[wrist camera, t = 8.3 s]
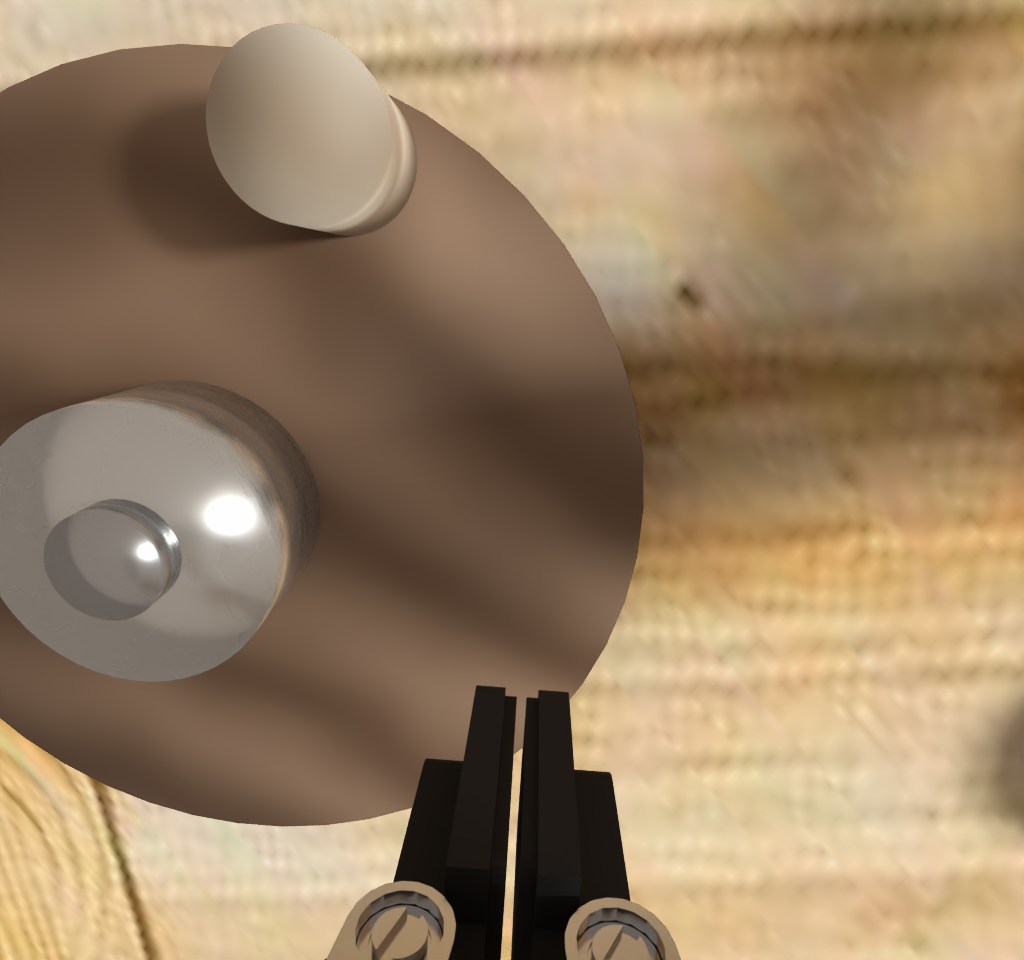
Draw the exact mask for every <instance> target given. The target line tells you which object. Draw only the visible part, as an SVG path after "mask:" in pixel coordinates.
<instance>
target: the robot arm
mask: <svg viewBox="0 0 1024 960" xmlns="http://www.w3.org/2000/svg"><path fill="white" fill-rule="evenodd" d="M505 695H506V687H493V686H480V685H477V686H476V689H475V695H474V701H473V707H472V713H471V719H470V725H469V731H468V737H467V743H466V748H465V754H464V760H463V761H455V760H442V759H429V758H426V759H425V761H424V764H423V768H422V772H421V776H420V779H419V783H418V787H417V791H416V795H415V799H414V803H413V807H412V811H411V815H410V819H409V823H408V827H407V831H406V835H405V839H404V842H403V846H402V850H401V854H400V858H399V862H398V866H397V870H396V874H395V878H394V882H393V883H388V884H385V885H382V886H380V887H378V888H376V889H374V890H372V891H370V892H369V893H368V894H366V895H365V896H364V897H363V898H362V899H360V900H359V901H358V902H357V903H356V905H355V906H354V908H353V909H352V910H351V912H350V913H349V915H348V916H347V918H346V920H345V923H344V925H343V927H342V929H341V931H340V933H339V935H338V937H337V939H336V941H335V943H334V945H333V947H332V949H331V951H330V953H329V955H328V957H327V959H325V960H500V958H501V943H502V928H503V913H504V898H505V883H506V867H507V852H508V835H509V819H510V803H511V786H512V770H513V754H514V737H515V721H516V705H517V697H516V696H505ZM511 960H681V958H680V956H679V953H678V950H677V947H676V945H675V942H674V941H673V939H672V937H671V935H670V933H669V931H668V929H667V928H666V926H665V925H664V924H663V923H662V922H661V921H660V920H659V919H658V918H657V917H656V916H655V915H654V914H653V913H651V912H650V911H648V910H647V909H645V908H644V907H642V906H641V905H639V904H636V903H633V902H631V901H630V895H629V888H628V881H627V875H626V868H625V861H624V855H623V848H622V841H621V834H620V828H619V821H618V814H617V807H616V801H615V794H614V787H613V781H612V776H611V774H610V772H598V771H585V770H574V760H573V746H572V731H571V717H570V703H569V693H568V692H561V691H548V690H539V691H538V698H530V697H527V698H526V711H525V725H524V739H523V754H522V768H521V782H520V796H519V810H518V825H517V843H516V864H515V886H514V908H513V930H512V952H511Z"/></svg>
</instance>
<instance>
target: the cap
mask: <svg viewBox="0 0 1024 960" xmlns="http://www.w3.org/2000/svg"><path fill="white" fill-rule="evenodd" d="M319 526H320V502H319V496H318V490H317V486H316V483H315V479H314V476H313V473H312V471H311V468H310V466H309V464H308V461H307V459H306V458H305V456H304V454H303V452H302V451H301V449H300V447H299V446H298V444H297V443H296V442H295V440H294V439H293V438H292V436H291V435H290V434H289V432H288V431H287V430H286V429H285V428H284V427H283V426H282V425H281V424H280V423H279V422H278V421H277V420H276V419H275V418H274V417H273V416H271V415H270V414H269V413H268V412H267V411H265V410H264V409H263V408H261V407H260V406H258V405H257V404H255V403H254V402H252V401H251V400H249V399H247V398H245V397H243V396H241V395H239V394H237V393H235V392H233V391H231V390H228V389H225V388H222V387H219V386H216V385H212V384H207V383H203V382H197V381H185V380H175V381H162V382H157V383H152V384H147V385H144V386H140V387H137V388H133V389H129V390H126V391H122V392H119V393H115V394H111V395H108V396H104V397H101V398H97V399H94V400H90V401H86V402H83V403H79V404H76V405H72V406H69V407H65V408H61V409H58V410H55V411H53V412H50V413H47V414H44V415H42V416H40V417H38V418H36V419H34V420H32V421H30V422H28V423H27V424H25V425H24V426H22V427H21V428H20V429H18V430H17V431H16V432H15V433H13V434H12V435H11V436H10V437H9V438H8V439H7V440H6V441H5V442H4V443H3V444H2V445H1V446H0V596H1V598H2V600H3V601H4V602H5V604H6V605H7V606H8V608H9V609H10V610H11V612H12V613H13V614H14V616H15V617H16V618H17V619H18V620H19V621H20V622H21V623H22V624H23V625H24V626H25V627H26V628H27V629H28V630H29V631H30V632H31V633H32V634H33V635H35V636H36V637H37V638H38V639H39V640H40V641H42V642H43V643H44V644H46V645H47V646H48V647H50V648H51V649H53V650H54V651H56V652H57V653H58V654H60V655H62V656H64V657H66V658H67V659H69V660H71V661H73V662H75V663H76V664H79V665H81V666H84V667H86V668H88V669H91V670H93V671H96V672H99V673H102V674H105V675H109V676H112V677H117V678H122V679H127V680H135V681H147V682H152V681H170V680H176V679H183V678H187V677H190V676H194V675H197V674H201V673H203V672H205V671H207V670H210V669H212V668H214V667H216V666H218V665H220V664H221V663H223V662H224V661H226V660H228V659H229V658H231V657H232V656H233V655H234V654H235V653H236V652H238V651H239V650H240V649H241V648H242V647H243V646H244V645H245V644H246V643H247V642H248V641H249V639H250V638H251V637H252V636H253V635H254V633H255V632H256V631H257V630H258V628H259V627H260V626H261V624H262V623H263V622H264V621H265V619H266V618H267V617H268V616H269V614H270V613H271V612H272V610H273V609H274V608H275V607H276V605H277V604H278V603H279V601H280V600H281V599H282V598H283V596H284V595H285V594H286V593H287V591H288V590H289V589H290V587H291V586H292V585H293V584H294V582H295V581H296V580H297V578H298V577H299V576H300V575H301V573H302V572H303V570H304V569H305V567H306V565H307V564H308V562H309V560H310V558H311V556H312V553H313V551H314V549H315V545H316V542H317V538H318V534H319Z"/></svg>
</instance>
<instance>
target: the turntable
mask: <svg viewBox="0 0 1024 960" xmlns="http://www.w3.org/2000/svg"><path fill="white" fill-rule="evenodd" d="M175 380H185V381H197V382H203V383H207V384H212V385H216V386H219V387H222V388H225V389H228V390H231V391H233V392H235V393H237V394H239V395H241V396H243V397H245V398H247V399H249V400H251V401H252V402H254V403H255V404H257V405H258V406H260V407H261V408H263V409H264V410H265V411H267V412H268V413H269V414H270V415H271V416H273V417H274V418H275V419H276V420H277V421H278V422H279V423H280V424H281V425H282V426H283V427H284V428H285V429H286V430H287V431H288V432H289V434H290V435H291V436H292V438H293V439H294V440H295V442H296V443H297V444H298V446H299V447H300V449H301V451H302V452H303V454H304V456H305V458H306V459H307V461H308V464H309V466H310V468H311V471H312V473H313V476H314V479H315V483H316V486H317V490H318V496H319V502H320V526H319V534H318V538H317V542H316V545H315V549H314V551H313V553H312V556H311V558H310V560H309V562H308V564H307V565H306V567H305V569H304V570H303V572H302V573H301V575H300V576H299V577H298V578H297V580H296V581H295V582H294V584H293V585H292V586H291V587H290V589H289V590H288V591H287V593H286V594H285V595H284V596H283V598H282V599H281V600H280V601H279V603H278V604H277V605H276V607H275V608H274V609H273V610H272V612H271V613H270V614H269V616H268V617H267V618H266V619H265V621H264V622H263V623H262V624H261V626H260V627H259V628H258V630H257V631H256V632H255V633H254V635H253V636H252V637H251V638H250V639H249V641H248V642H247V643H246V644H245V645H244V646H243V647H242V648H241V649H240V650H239V651H238V652H236V653H235V654H234V655H233V656H232V657H231V658H229V659H228V660H226V661H224V662H223V663H221V664H220V665H218V666H216V667H214V668H212V669H210V670H207V671H205V672H203V673H201V674H197V675H194V676H190V677H187V678H183V679H176V680H170V681H152V682H147V681H135V680H127V679H122V678H117V677H112V676H109V675H105V674H102V673H99V672H96V671H93V670H91V669H88V668H86V667H84V666H81V665H79V664H76V663H75V662H73V661H71V660H69V659H67V658H66V657H64V656H62V655H60V654H58V653H57V652H56V651H54V650H53V649H51V648H50V647H48V646H47V645H46V644H44V643H43V642H42V641H40V640H39V639H38V638H37V637H36V636H35V635H33V634H32V633H31V632H30V631H29V630H28V629H27V628H26V627H25V626H24V625H23V624H22V623H21V622H20V621H19V620H18V619H17V618H16V617H15V616H14V614H13V613H12V612H11V610H10V609H9V608H8V606H7V605H6V604H5V602H4V601H3V600H2V598H1V596H0V718H1V719H2V720H3V721H5V722H6V723H7V724H8V725H10V726H11V727H12V728H13V729H15V730H16V731H17V732H18V733H20V734H21V735H22V736H23V737H25V738H26V739H28V740H29V741H31V742H32V743H34V744H35V745H37V746H38V747H40V748H42V749H43V750H45V751H46V752H48V753H49V754H51V755H52V756H54V757H55V758H57V759H58V760H60V761H62V762H63V763H65V764H67V765H68V766H70V767H72V768H74V769H76V770H78V771H80V772H82V773H84V774H86V775H88V776H90V777H92V778H94V779H95V780H97V781H99V782H101V783H103V784H105V785H107V786H110V787H112V788H115V789H117V790H120V791H122V792H125V793H127V794H130V795H132V796H135V797H137V798H140V799H142V800H145V801H147V802H150V803H154V804H157V805H160V806H164V807H167V808H171V809H174V810H178V811H181V812H185V813H188V814H192V815H196V816H202V817H207V818H213V819H218V820H224V821H230V822H235V823H245V824H258V825H271V826H309V825H329V824H336V823H344V822H351V821H358V820H365V819H370V818H374V817H378V816H382V815H386V814H390V813H394V812H398V811H401V810H405V809H409V808H412V807H413V803H414V799H415V795H416V791H417V787H418V783H419V779H420V776H421V772H422V768H423V764H424V761H425V759H426V758H429V759H442V760H455V761H463V760H464V754H465V748H466V743H467V737H468V731H469V725H470V719H471V713H472V707H473V701H474V695H475V689H476V686H477V685H480V686H493V687H506V695H505V696H516V697H517V705H516V721H515V737H514V753H516V752H517V751H519V750H520V749H521V748H523V739H524V725H525V711H526V698H527V697H530V698H538V691H539V690H548V691H561V692H568V693H569V700H570V698H571V697H572V696H573V695H574V694H575V692H576V691H577V690H578V689H579V687H580V686H581V685H582V684H583V682H584V680H585V679H586V677H587V676H588V674H589V672H590V671H591V669H592V667H593V666H594V664H595V662H596V661H597V659H598V658H599V656H600V654H601V653H602V651H603V649H604V648H605V646H606V644H607V642H608V639H609V637H610V635H611V632H612V630H613V628H614V626H615V623H616V621H617V619H618V616H619V614H620V612H621V609H622V607H623V605H624V602H625V599H626V595H627V591H628V588H629V584H630V580H631V577H632V573H633V569H634V566H635V562H636V559H637V553H638V545H639V537H640V530H641V522H642V514H643V454H642V448H641V441H640V434H639V428H638V421H637V414H636V407H635V402H634V398H633V395H632V392H631V388H630V385H629V381H628V378H627V374H626V371H625V368H624V364H623V361H622V357H621V354H620V350H619V348H618V346H617V343H616V341H615V339H614V337H613V334H612V332H611V330H610V327H609V325H608V323H607V321H606V318H605V316H604V314H603V312H602V309H601V307H600V305H599V303H598V300H597V298H596V296H595V294H594V293H593V291H592V289H591V288H590V286H589V285H588V283H587V281H586V280H585V278H584V276H583V275H582V273H581V271H580V270H579V268H578V267H577V265H576V263H575V262H574V260H573V258H572V257H571V255H570V254H569V252H568V250H567V249H566V247H565V245H564V244H563V243H562V242H561V240H560V239H559V238H558V237H557V235H556V234H555V233H554V232H553V230H552V229H551V228H550V227H549V225H548V224H547V223H546V222H545V221H544V219H543V218H542V217H541V216H540V214H539V213H538V212H537V211H536V209H535V208H534V207H533V206H532V205H531V203H530V202H529V201H528V200H527V198H526V197H525V196H524V195H523V194H522V193H521V192H520V191H519V190H518V189H517V188H516V187H514V186H513V185H512V184H511V183H510V182H509V181H508V180H507V179H506V178H505V177H504V176H503V175H502V174H501V173H500V172H499V171H498V170H496V169H495V168H494V167H493V166H492V165H491V164H490V163H489V162H488V161H487V160H486V159H485V158H484V157H483V156H482V155H481V154H480V153H478V152H477V151H476V150H474V149H473V148H472V147H470V146H469V145H467V144H466V143H465V142H463V141H462V140H460V139H459V138H458V137H456V136H455V135H454V134H452V133H451V132H449V131H448V130H447V129H445V128H444V127H442V126H441V125H440V124H438V123H437V122H436V121H434V120H433V119H431V118H430V117H429V116H427V115H426V114H424V113H422V112H420V111H418V110H416V109H414V108H413V107H411V106H409V105H407V104H405V103H403V102H401V101H399V100H398V99H396V98H394V97H392V96H390V95H388V94H387V93H386V92H385V91H384V89H383V88H382V87H381V86H380V84H379V83H378V82H377V81H376V79H375V78H374V77H373V76H372V74H371V73H370V72H369V71H368V69H367V68H366V67H365V66H364V64H363V63H362V62H361V61H360V59H359V58H358V57H357V56H356V55H355V54H354V53H353V52H352V51H351V50H350V49H349V48H348V47H347V46H346V45H345V44H343V43H342V42H340V41H339V40H338V39H336V38H335V37H333V36H331V35H329V34H327V33H326V32H324V31H321V30H318V29H316V28H313V27H309V26H305V25H300V24H276V25H271V26H267V27H263V28H261V29H259V30H256V31H254V32H252V33H250V34H248V35H247V36H245V37H244V38H242V39H241V40H240V41H239V42H237V43H236V44H235V45H234V46H233V47H220V46H204V45H188V44H176V45H165V46H154V47H143V48H132V49H121V50H116V51H112V52H108V53H104V54H100V55H96V56H92V57H89V58H85V59H81V60H77V61H73V62H69V63H65V64H61V65H59V66H56V67H54V68H52V69H50V70H47V71H45V72H43V73H40V74H38V75H36V76H34V77H31V78H29V79H27V80H24V81H22V82H20V83H18V84H15V85H13V86H11V87H9V88H7V89H5V90H4V91H2V92H1V93H0V446H1V445H2V444H3V443H4V442H5V441H6V440H7V439H8V438H9V437H10V436H11V435H12V434H13V433H15V432H16V431H17V430H18V429H20V428H21V427H22V426H24V425H25V424H27V423H28V422H30V421H32V420H34V419H36V418H38V417H40V416H42V415H44V414H47V413H50V412H53V411H55V410H58V409H61V408H65V407H69V406H72V405H76V404H79V403H83V402H86V401H90V400H94V399H97V398H101V397H104V396H108V395H111V394H115V393H119V392H122V391H126V390H129V389H133V388H137V387H140V386H144V385H147V384H152V383H157V382H162V381H175Z"/></svg>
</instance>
